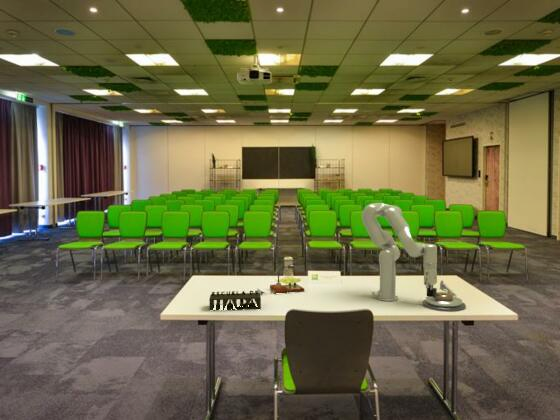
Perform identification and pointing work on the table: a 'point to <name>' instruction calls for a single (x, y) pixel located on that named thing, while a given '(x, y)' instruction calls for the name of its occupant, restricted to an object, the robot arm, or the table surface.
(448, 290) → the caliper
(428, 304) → the base
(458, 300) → the turntable
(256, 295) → the sign
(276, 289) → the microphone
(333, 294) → the table surface
